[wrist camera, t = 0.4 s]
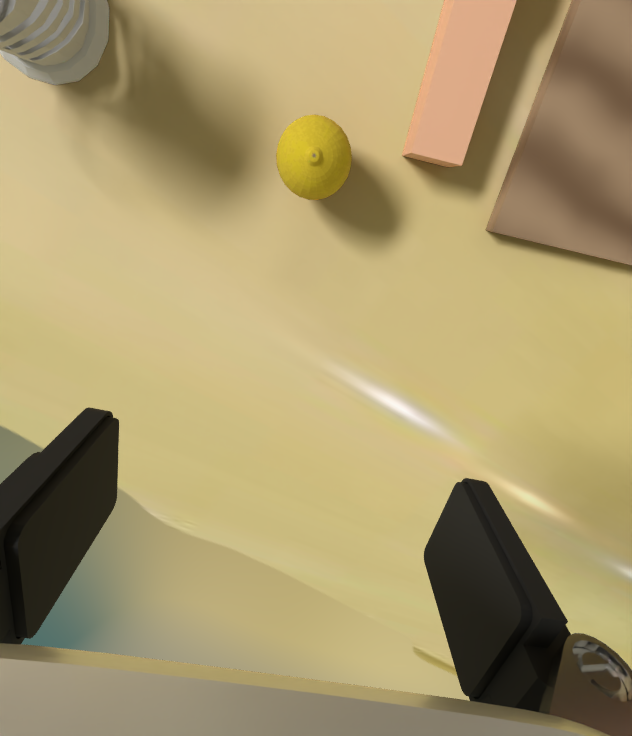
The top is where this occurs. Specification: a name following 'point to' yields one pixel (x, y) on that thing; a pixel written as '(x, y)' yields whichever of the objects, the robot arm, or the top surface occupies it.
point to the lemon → (314, 157)
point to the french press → (54, 37)
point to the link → (457, 79)
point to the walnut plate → (577, 142)
